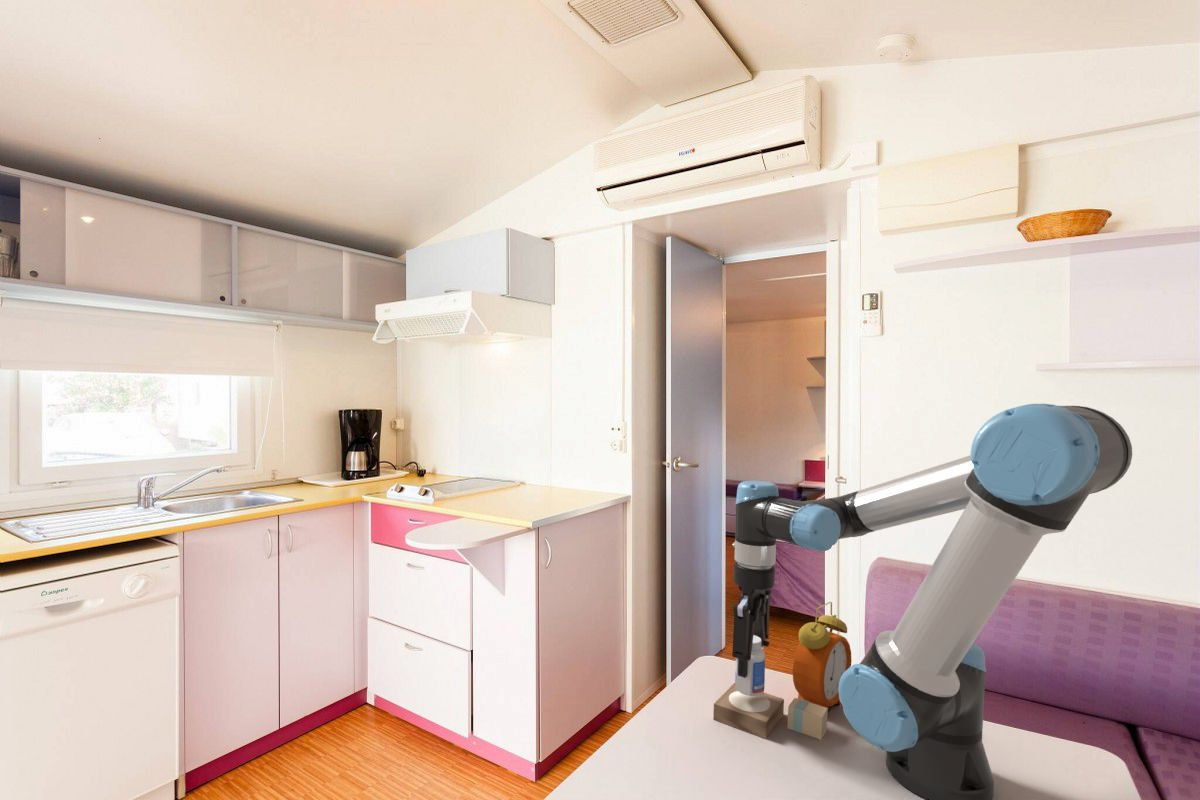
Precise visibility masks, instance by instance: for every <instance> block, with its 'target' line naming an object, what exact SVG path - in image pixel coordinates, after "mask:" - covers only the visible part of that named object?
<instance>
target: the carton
mask: <svg viewBox="0 0 1200 800" xmlns="http://www.w3.org/2000/svg"><path fill="white" fill-rule="evenodd" d="M828 711H829V708H826V707H823V706H819V705H816V704H813V703H810V702H809V701H806V700H803V699H798V697H793V699H792V701H791V702H790V703H789V704H788V708H787V729H790V730H792V731H794V732H797V733H800V734H803V735H805V736H810V737H813V738H815V739H818V740H822V739H823V737H824V735H825V734H826V732H827V730H828Z"/></svg>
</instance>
